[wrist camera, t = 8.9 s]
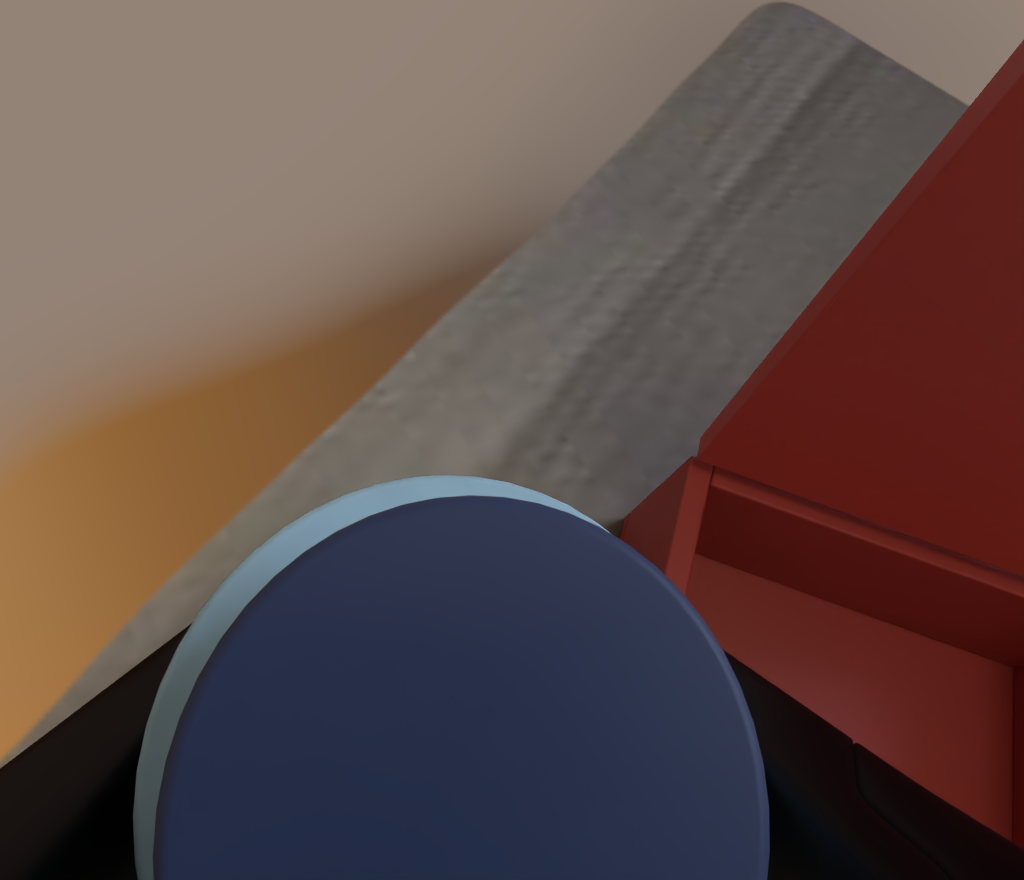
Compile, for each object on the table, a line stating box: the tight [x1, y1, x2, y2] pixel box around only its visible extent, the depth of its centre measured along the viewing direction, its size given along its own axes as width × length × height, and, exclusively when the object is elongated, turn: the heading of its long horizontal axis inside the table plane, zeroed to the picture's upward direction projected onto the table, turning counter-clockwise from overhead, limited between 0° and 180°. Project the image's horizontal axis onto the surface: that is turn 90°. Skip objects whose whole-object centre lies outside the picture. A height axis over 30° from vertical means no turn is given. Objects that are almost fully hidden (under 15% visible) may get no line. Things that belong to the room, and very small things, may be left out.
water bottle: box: [133, 475, 770, 880], centre depth 8 cm, size 5×5×12 cm
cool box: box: [619, 456, 1024, 849], centre depth 19 cm, size 13×15×6 cm
